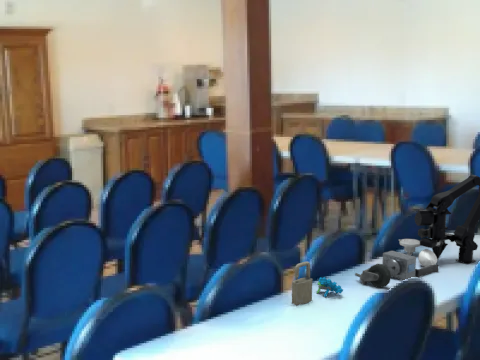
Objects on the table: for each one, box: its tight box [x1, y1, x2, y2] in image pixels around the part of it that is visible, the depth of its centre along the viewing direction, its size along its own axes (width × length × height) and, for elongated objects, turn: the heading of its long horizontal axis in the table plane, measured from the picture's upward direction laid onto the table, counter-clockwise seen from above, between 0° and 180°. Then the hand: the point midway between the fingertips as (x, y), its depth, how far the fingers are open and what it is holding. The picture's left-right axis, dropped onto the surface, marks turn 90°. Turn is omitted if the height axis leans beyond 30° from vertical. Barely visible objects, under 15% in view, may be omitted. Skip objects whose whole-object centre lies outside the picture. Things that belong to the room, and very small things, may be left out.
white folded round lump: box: [417, 248, 438, 267], centre depth 294 cm, size 8×8×8 cm
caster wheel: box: [354, 263, 392, 289], centre depth 270 cm, size 6×10×15 cm
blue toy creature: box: [316, 276, 344, 298], centre depth 259 cm, size 11×6×10 cm
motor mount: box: [382, 250, 439, 281], centre depth 285 cm, size 23×15×9 cm, turn 130°
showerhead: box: [398, 238, 421, 256], centre depth 312 cm, size 9×7×10 cm
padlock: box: [291, 261, 313, 306], centre depth 251 cm, size 4×8×15 cm, turn 131°
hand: (436, 259), depth 299 cm, fingers closed
